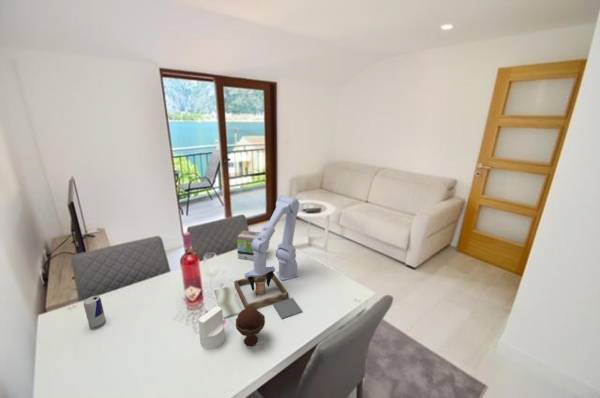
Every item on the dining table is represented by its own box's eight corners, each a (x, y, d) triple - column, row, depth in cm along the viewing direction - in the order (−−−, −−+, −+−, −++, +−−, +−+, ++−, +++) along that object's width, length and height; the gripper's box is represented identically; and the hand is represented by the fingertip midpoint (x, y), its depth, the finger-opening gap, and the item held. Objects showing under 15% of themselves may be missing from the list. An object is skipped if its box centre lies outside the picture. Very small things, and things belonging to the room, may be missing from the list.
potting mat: (292, 298, 125) (292, 297, 125) (302, 312, 117) (302, 311, 116) (272, 304, 120) (272, 303, 120) (281, 319, 112) (281, 318, 112)
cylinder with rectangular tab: (211, 353, 95) (208, 326, 92) (195, 342, 100) (192, 316, 96) (229, 336, 103) (228, 311, 99) (214, 327, 107) (211, 302, 104)
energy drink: (109, 321, 108) (103, 297, 105) (95, 331, 104) (89, 305, 100) (100, 318, 110) (93, 293, 106) (86, 327, 105) (79, 302, 102)
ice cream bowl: (270, 335, 104) (270, 303, 99) (254, 357, 94) (253, 323, 90) (248, 326, 108) (247, 295, 104) (230, 346, 98) (228, 313, 94)
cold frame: (272, 276, 142) (272, 271, 141) (288, 298, 125) (288, 293, 124) (214, 291, 128) (214, 286, 128) (223, 319, 111) (223, 313, 110)
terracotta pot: (263, 287, 132) (263, 275, 130) (267, 293, 128) (267, 281, 126) (253, 290, 130) (253, 278, 128) (257, 296, 126) (256, 284, 123)
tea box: (237, 259, 158) (236, 236, 153) (243, 251, 167) (242, 229, 163) (261, 261, 156) (261, 239, 151) (266, 253, 165) (266, 231, 161)
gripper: (271, 255, 131) (271, 279, 135) (242, 261, 124) (243, 286, 128) (276, 262, 125) (276, 286, 129) (246, 269, 118) (247, 295, 122)
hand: (260, 287), depth 128 cm, fingers open, 7 cm apart
